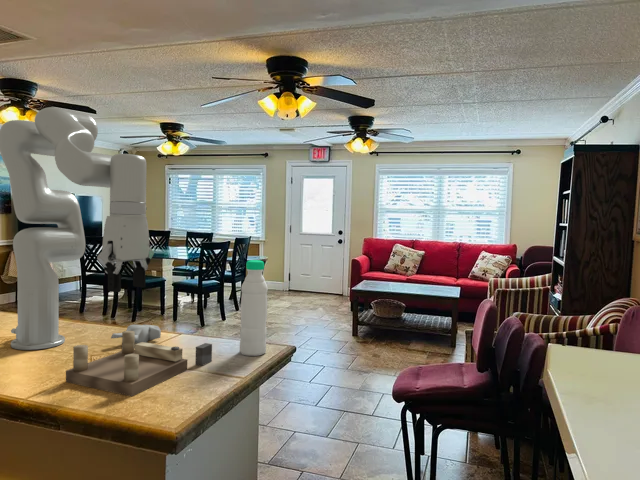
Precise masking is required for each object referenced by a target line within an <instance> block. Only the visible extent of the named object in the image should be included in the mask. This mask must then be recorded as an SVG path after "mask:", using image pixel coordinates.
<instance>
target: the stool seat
mask: <svg viewBox="0 0 640 480" xmlns="http://www.w3.org/2000/svg"><path fill="white" fill-rule="evenodd" d="M121 333H122V337H121V351H118V352H115V353H113V354H112V353H111V354H110V355H108V356H104V357H102V358H101V357H100V358H99V359H95V360H92V361H89V346H88V345H87V344H79V345H74V346H73V355H72V356H73V357H72V358H73V365H72V366H73V367H72V368H69V369H67V370H65V383H70V384H73V385H79V386H82V387H85V388H86V387H87V388H91V389H96V390H101V391H105V392H110V393H114V394H119V395H123V396H129V397H134V396H135V395H138V394H140V393H142V392H144V391H146V390H147V389H150V388H152V387H155V386H156V385H159V384H160V383H163V382H164V381H168V380H169V379H171V378H173V377H176V376H178V375H180V374H182V373H184V372H186V371H188V359H186V358H182V359H180V360H178V361H170V360H164V359H159V358H153V357H148V356H142V355H138V354H135V343H134V342H135V332H134V331H122V332H121ZM212 354H213V343H207V342H204V343H203V344H199V345H197V346H195V365H196V366H205V365H207V364H208V363H210V362H212V361H213V355H212Z"/></svg>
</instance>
